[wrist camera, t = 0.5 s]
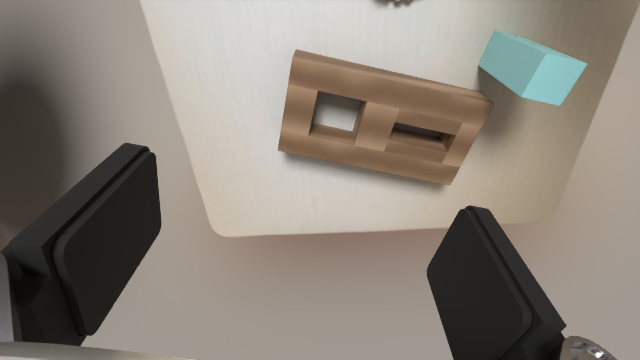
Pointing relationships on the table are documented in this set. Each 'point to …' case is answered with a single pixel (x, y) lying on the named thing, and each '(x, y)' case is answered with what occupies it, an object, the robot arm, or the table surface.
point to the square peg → (531, 68)
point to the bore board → (382, 119)
